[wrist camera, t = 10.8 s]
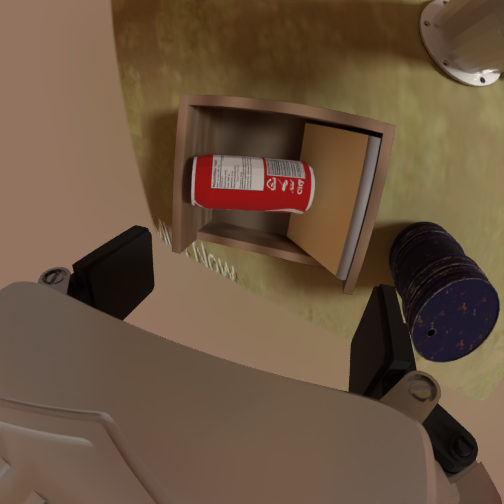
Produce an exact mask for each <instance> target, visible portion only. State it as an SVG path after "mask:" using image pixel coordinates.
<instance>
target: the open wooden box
mask: <svg viewBox="0 0 504 504" xmlns="http://www.w3.org/2000/svg"><path fill="white" fill-rule="evenodd" d="M306 123H309V124H315V125H321V126H326V127H332V128H337V129H342V130H347V131H351V132H356V133H361V134H365V135H369V136H373V137H377V138H381V144H380V150H379V155H378V160H377V165H376V170H375V174H374V179H373V183H372V188H371V192H370V197H369V201H368V205H367V209H366V213H365V217H364V221H363V224H362V228H361V232H360V236H359V239H358V243H357V246H356V250H355V253H354V257H353V260H352V263H351V267H350V270H349V273H348V276H347V279H346V280H343V293H345V294H349V295H352V294H353V291H354V288H355V285H356V282H357V279H358V276H359V273H360V270H361V267H362V264H363V261H364V258H365V254H366V251H367V248H368V244H369V241H370V238H371V234H372V230H373V227H374V223H375V220H376V216H377V212H378V208H379V204H380V200H381V196H382V192H383V188H384V184H385V179H386V175H387V170H388V165H389V161H390V156H391V150H392V145H393V140H394V134H395V128H396V126H395V125H392V124H388V123H385V122H381V121H377V120H374V119H370V118H366V117H362V116H358V115H353V114H349V113H345V112H340V111H335V110H330V109H325V108H320V107H314V106H308V105H302V104H296V103H289V102H282V101H274V100H265V99H255V98H244V97H231V96H212V95H180V101H179V110H178V121H177V133H176V146H175V161H174V180H173V209H172V252H176V253H179V254H180V253H181V252H182V251H183V250H185V249H186V248H187V247H188V246H189V245H190V244H191V243H193V242H194V241H195V240H196V239H200V240H204V241H208V242H213V243H217V244H221V245H226V246H230V247H234V248H239V249H243V250H247V251H252V252H256V253H260V254H265V255H269V256H273V257H278V258H282V259H286V260H290V261H295V262H299V263H303V264H308V265H312V266H316V267H321V268H325V267H324V266H323V265H322V264H320V263H319V262H318V261H317V260H316V259H314V258H313V257H312V256H311V255H309V254H308V253H307V252H306V251H304V250H303V249H302V248H301V247H300V246H298V245H297V244H296V243H295V242H293V241H292V240H291V239H290V238H288V237H287V232H288V227H289V221H290V216H291V213H281V212H264V211H244V210H220V209H205V208H202V207H198V206H195V205H192V200H191V188H192V171H193V162H194V157H199V156H204V155H209V154H217V155H236V156H251V157H264V158H275V159H286V160H295V161H300V156H301V150H302V144H303V137H304V130H305V124H306ZM325 269H327V268H325Z"/></svg>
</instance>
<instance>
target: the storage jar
mask: <svg viewBox="0 0 504 504" xmlns="http://www.w3.org/2000/svg"><path fill="white" fill-rule="evenodd" d="M389 264H390V268H391V271H392V277H393V280H394V284H395V288H396V290H397V292H398V294H399V295H400V297H401V298H402V310H403V314H404V317H405V321H406V324H407V326H408V330H409V332H410V335H411V339H412V343H413V346H414V349H415V350H416V352H417V353H418V354H419V355H420V356H421V357H423V358H424V359H426V360H429V361H432V362H450V361H454V360H457V359H460V358H462V357H464V356H466V355H468V354H470V353H471V352H473V351H474V350H476V349H477V348H478V347H479V346H480V345H481V344H482V343H483V342H484V341H485V340H486V339H487V338H488V336H489V335H490V334H491V332H492V331H493V329H494V327H495V325H496V322H497V319H498V316H499V311H500V301H499V297H498V294H497V292H496V290H495V288H494V287H493V286H492V284H491V283H490V282H489V281H488V278H487V277H486V275H485V274H484V272H483V271H482V270H481V269H480V268H479V267H478V265H477V264H476V263H475V262H474V261H473V260H472V259H471V258H469V257H467V256H466V255H465V253H464V251H463V249H462V247H461V246H460V245H459V243H458V242H457V241H456V240H455V239H454V238H453V237H452V236H451V235H450V234H449V233H447V232H446V231H445V230H444V229H443V228H442V227H441V226H439V225H437V224H435V223H432V222H419V223H415V224H412V225H410V226H408V227H407V228H405V229H404V230H403V231H402V232H401V233H400V234H399V235H398V236H397V237H396V239H395V240H394V242H393V244H392V247H391V249H390V254H389Z"/></svg>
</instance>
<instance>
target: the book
mask: <svg viewBox="0 0 504 504" xmlns="http://www.w3.org/2000/svg"><path fill="white" fill-rule="evenodd" d="M380 144H381V138H377V137H373V136H369V135H365V134H361V133H356V132H351V131H347V130H342V129H337V128H332V127H326V126H321V125H315V124H309V123H306V124H305V130H304V137H303V144H302V150H301V156H300V161H304V162H306V163H307V164H308V165H309V166H310V167H311V168H312V169H313V173H314V178H315V190H314V197H313V201H312V204H311V206H310V208H309V209H308V210H306V211H305V212H304V213H303V214H297V213H291V216H290V221H289V227H288V232H287V237H288V238H290V239H291V240H292V241H293V242H295V243H296V244H297V245H298V246H300V247H301V248H302V249H303V250H304V251H306V252H307V253H308V254H309V255H311V256H312V257H313V258H314V259H316V260H317V261H318V262H319V263H320V264H322V265H323V266H324V267H325V268H327V269H328V270H329V271H330V272H331V273H333V274H334V275H335V276H336V277H337V278H338V279H340V280H346V279H347V276H348V273H349V270H350V267H351V263H352V260H353V257H354V253H355V250H356V246H357V243H358V239H359V236H360V232H361V228H362V224H363V221H364V217H365V213H366V209H367V205H368V201H369V197H370V192H371V188H372V183H373V179H374V174H375V170H376V165H377V160H378V155H379V150H380Z"/></svg>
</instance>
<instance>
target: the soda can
mask: <svg viewBox="0 0 504 504" xmlns="http://www.w3.org/2000/svg"><path fill="white" fill-rule="evenodd" d="M314 190H315V178H314V173H313V169H312V168H311V167H310V166H309V165H308V164H307V163H306V162H304V161H295V160H286V159H275V158H264V157H251V156H236V155H217V154H209V155H204V156H199V157H194V162H193V171H192V188H191V200H192V205H195V206H198V207H202V208H205V209H220V210H244V211H264V212H281V213H297V214H303V213H304V212H305V211H306V210H308V209H309V208H310V206H311V204H312V201H313V197H314Z"/></svg>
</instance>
